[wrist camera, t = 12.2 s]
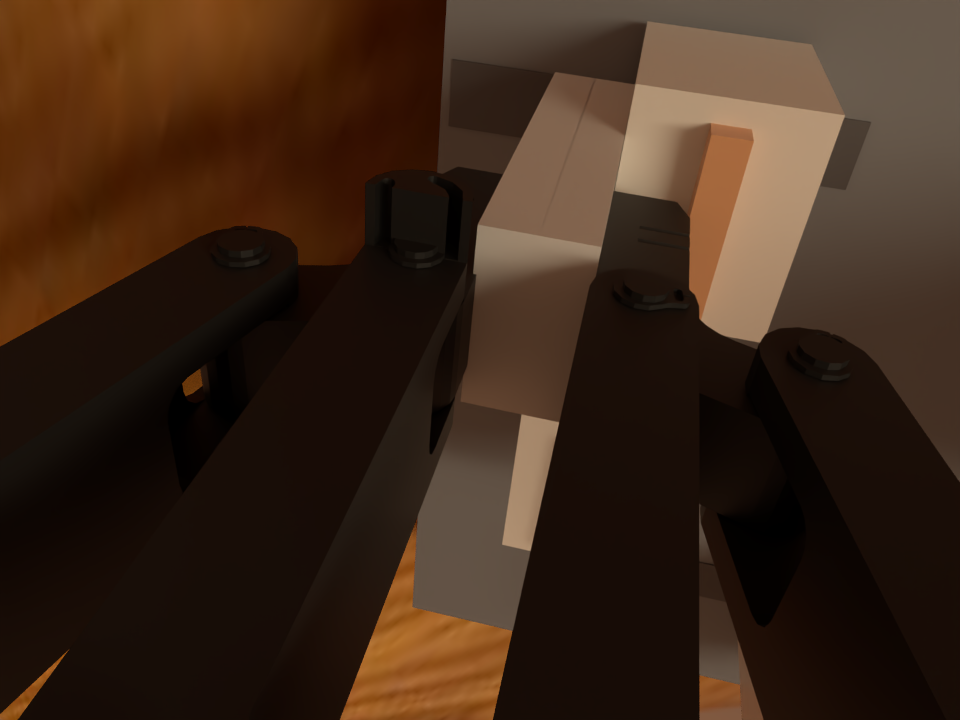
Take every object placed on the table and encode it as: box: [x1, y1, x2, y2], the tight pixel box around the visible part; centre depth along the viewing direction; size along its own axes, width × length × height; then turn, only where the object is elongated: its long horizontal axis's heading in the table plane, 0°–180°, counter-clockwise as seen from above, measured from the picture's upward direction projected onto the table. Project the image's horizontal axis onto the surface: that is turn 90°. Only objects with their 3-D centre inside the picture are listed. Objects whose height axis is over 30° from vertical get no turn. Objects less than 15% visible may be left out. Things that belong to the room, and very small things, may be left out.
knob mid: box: [502, 415, 559, 551], centre depth 18 cm, size 3×4×4 cm
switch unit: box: [413, 0, 960, 684], centre depth 22 cm, size 14×22×5 cm, turn 175°
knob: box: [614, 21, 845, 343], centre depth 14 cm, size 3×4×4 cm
